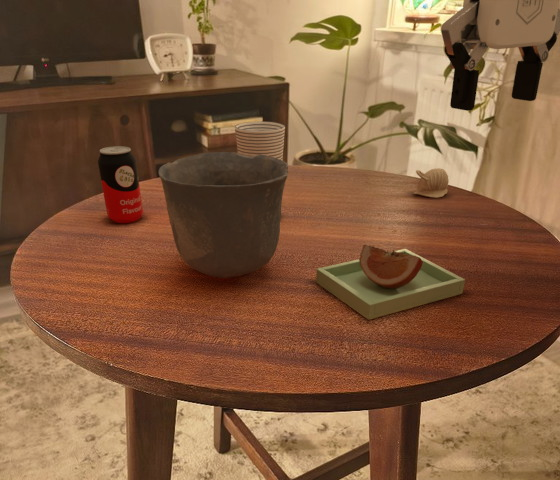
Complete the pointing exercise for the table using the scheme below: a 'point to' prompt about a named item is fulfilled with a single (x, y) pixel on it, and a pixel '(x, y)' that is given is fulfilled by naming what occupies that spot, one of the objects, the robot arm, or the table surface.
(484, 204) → the table surface
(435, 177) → the decorative ornament
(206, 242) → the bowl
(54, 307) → the table surface
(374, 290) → the serving tray
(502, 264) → the table surface
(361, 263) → the fruit slice
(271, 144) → the cup
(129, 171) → the beverage can
